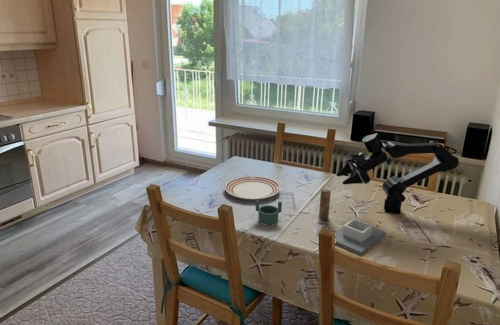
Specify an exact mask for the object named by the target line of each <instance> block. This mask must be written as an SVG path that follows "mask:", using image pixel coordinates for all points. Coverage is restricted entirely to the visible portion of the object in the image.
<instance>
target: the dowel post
mask: <svg viewBox="0 0 500 325" xmlns="http://www.w3.org/2000/svg"><path fill="white" fill-rule="evenodd" d="M331 193H332V192H331V190H330V189H328V188H322V189H320V197H319V198H320V199H319V211H318V220H321V221H327V220H329V218H330V217H329V216H330V206H331V205H330V204H331Z"/></svg>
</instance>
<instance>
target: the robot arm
mask: <svg viewBox="0 0 500 325" xmlns="http://www.w3.org/2000/svg"><path fill="white" fill-rule="evenodd" d="M361 141H362V143H363V146H364V148H366V151H367V152H368V153H370V154H368V155H365V154H364V153H363V152H358V151H357V150H356V149H355V148H353V149H352V150H351V151H350V152H349V153H348V154H347V155H348V156H347V157H346V158H345V164H344V166H343V167H342V168H341V169H340V170H339V171H338V172H337V173H336V174H335V175H336V176H337V177H342V176H347V175H350V174H351V175H350V176H349V177H347V178H346V179H344V180H343V181H342V184H343V185H353V184H354V185H355V184H357V185H358V184H362V185H363V184H364V185H367V184H369V183H370V182H371V177H370V176H369V174H368V172H369V171H371V170H372V172H373V171H376V168H377V167H378V166H380V165H382V164H386V165H388V166H390V165H391V161H392V159H391V158H393V159H399V158H403V157H405V156H407V155H418V154H419V155H420V154H433V155H434V156H435V157H434V159H433V160H432V161H431V162H430V163H428V164H426V165H424V166H421V167H420V168H418V169H416V170H414V171H411V172H410V173H407V174H405V175H404V176H401V177H397V176H396V175H393V176H391V177H390V178H386V179H385V181H383V183H382V186H381V188H382V190H383V192H384V194H385V196H386V198H384V203H383V210H384V213H388V214H395V215H399V216H400V215H401V210H402V209H401V208H402V203H404V202H405V200H406V196H405V195H404V193H405V191H406V190H407V188H409V187H410V186H411V187H412V186H413V185H416V183H419V182H421V181H423V180H425V179H427V178H429V177H432V176H433V175H435V174H437V173H441V172H443V173H444V172H449V171H451V170H454V169H456V168H457V167H458V165H459V163H460V161H459V160H460V159H459V158H458V157H457V156H455V155H453V154H452V153H450V151H448V150H447V149H446V148H445V147H444V146H443V145H442V144H441V143H440V142H436V141H434V142H421V143H420V142H417V143H416V142H415V143H404V142H401V141H395V140H393V141H392V140H390V141H387V142H384V141H382V140H381V137H380V135H379V134H378V133H377V132H376V133H374V134H369V135H365V136H364V137H363V138H362V140H361ZM388 156H390V157H388Z"/></svg>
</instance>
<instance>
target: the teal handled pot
mask: <svg viewBox="0 0 500 325" xmlns="http://www.w3.org/2000/svg"><path fill="white" fill-rule="evenodd" d="M277 202H278V203H277V206H274V205H270V204H268V205H262V206H260V199H258V200H255V211H256V212H257V213H258V218H257V219H258V220H259V221H258V223H259V222H260V224H261V223H263V224H266V225H265V226H273V225H272V224H275V225H276V223H277V222H279V214H280V213H282V209H283V208H282V207H283V206H282V204H283V202H282V201H277ZM263 224H262V225H263ZM277 224H278V223H277Z"/></svg>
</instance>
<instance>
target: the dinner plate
mask: <svg viewBox="0 0 500 325" xmlns="http://www.w3.org/2000/svg"><path fill="white" fill-rule="evenodd" d="M281 189H282V188H281V185H280V183H279V182H278V181H276V180H274V179H272V178H269V177H266V176H265V177H264V176H258V175H257V176H256V175H255V176H253V175H250V176H249V175H248V176H240V177H237V178H233V179H231V180H229V181H228V182H227V183H226V184H225V186H224V190H225V191H226V193H228V195H230V196H232V197H234V198H239V199H243V200H249V201H250V200H252V201H253V200H254V201H256V200H263V199H267V198H272V197H273V196H276V195H277V194H278V193H279V192H280V191H281Z"/></svg>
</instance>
